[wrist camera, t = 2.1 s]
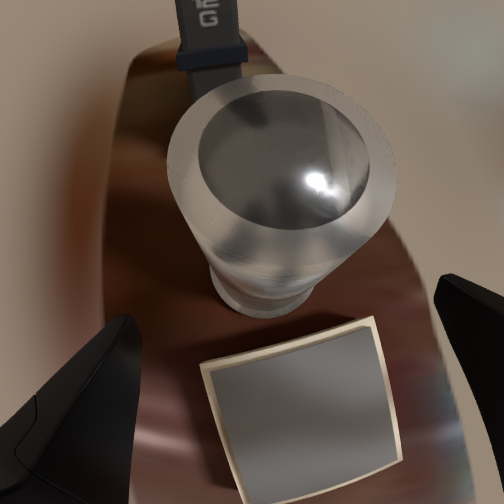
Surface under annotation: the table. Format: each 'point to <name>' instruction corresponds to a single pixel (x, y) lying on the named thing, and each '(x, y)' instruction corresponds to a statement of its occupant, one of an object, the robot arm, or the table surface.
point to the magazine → (209, 44)
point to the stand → (305, 413)
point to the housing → (279, 186)
